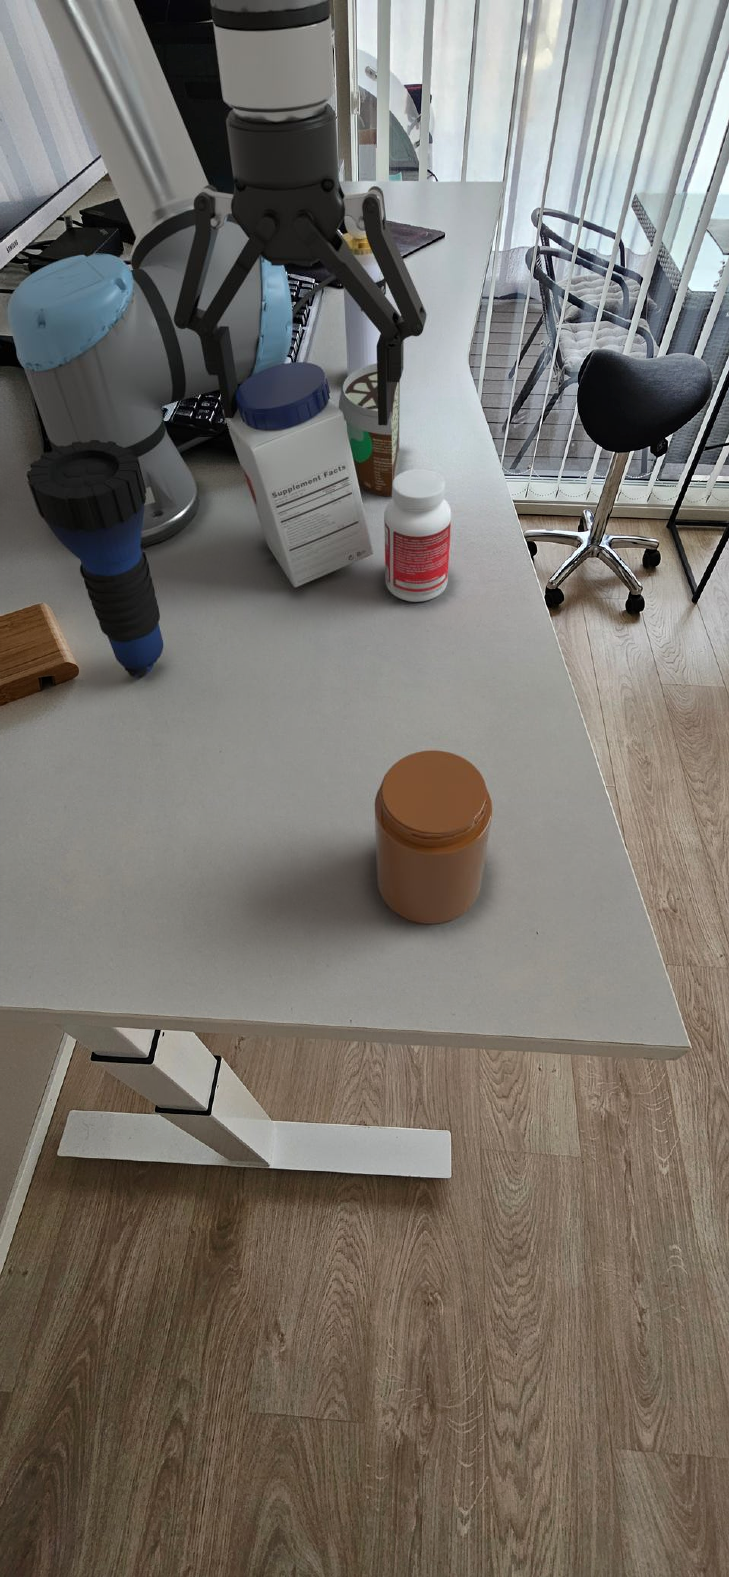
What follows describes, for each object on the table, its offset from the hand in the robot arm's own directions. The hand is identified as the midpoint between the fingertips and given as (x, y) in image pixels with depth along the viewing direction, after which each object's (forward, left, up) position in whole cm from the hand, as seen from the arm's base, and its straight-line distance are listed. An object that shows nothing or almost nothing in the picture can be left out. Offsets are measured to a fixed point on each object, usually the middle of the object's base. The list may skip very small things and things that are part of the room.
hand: (307, 415), depth 71 cm
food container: (-16, +4, -15) cm, 23 cm away
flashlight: (+17, -14, -15) cm, 27 cm away
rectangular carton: (0, 0, -15) cm, 15 cm away
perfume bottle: (-38, +2, -15) cm, 41 cm away
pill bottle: (+4, +10, -15) cm, 19 cm away
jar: (+38, +12, -15) cm, 42 cm away
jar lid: (-1, -2, +2) cm, 3 cm away
